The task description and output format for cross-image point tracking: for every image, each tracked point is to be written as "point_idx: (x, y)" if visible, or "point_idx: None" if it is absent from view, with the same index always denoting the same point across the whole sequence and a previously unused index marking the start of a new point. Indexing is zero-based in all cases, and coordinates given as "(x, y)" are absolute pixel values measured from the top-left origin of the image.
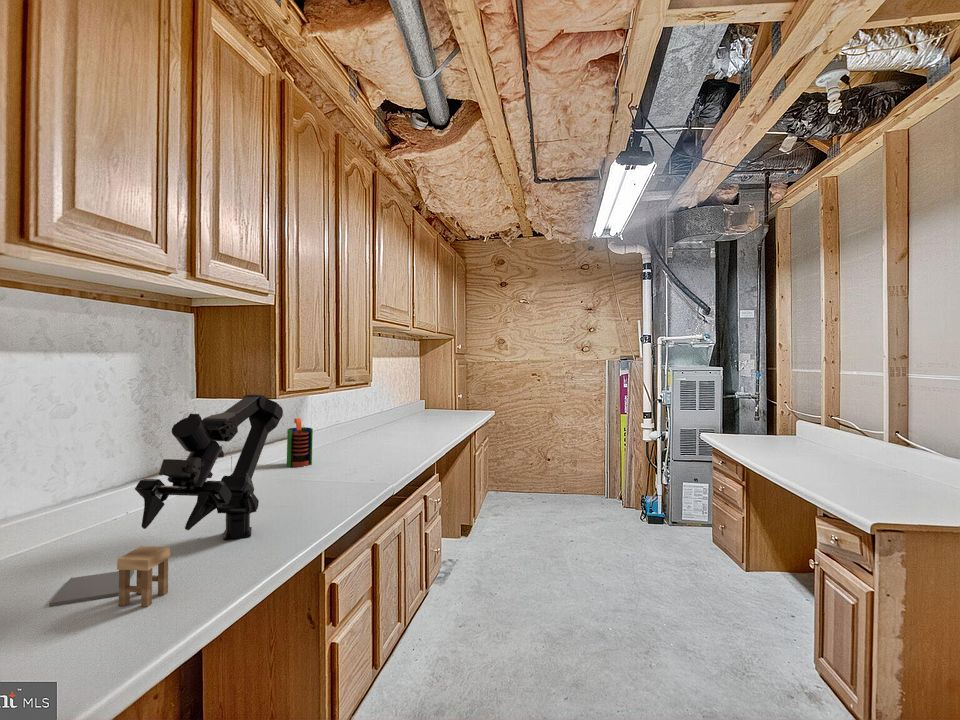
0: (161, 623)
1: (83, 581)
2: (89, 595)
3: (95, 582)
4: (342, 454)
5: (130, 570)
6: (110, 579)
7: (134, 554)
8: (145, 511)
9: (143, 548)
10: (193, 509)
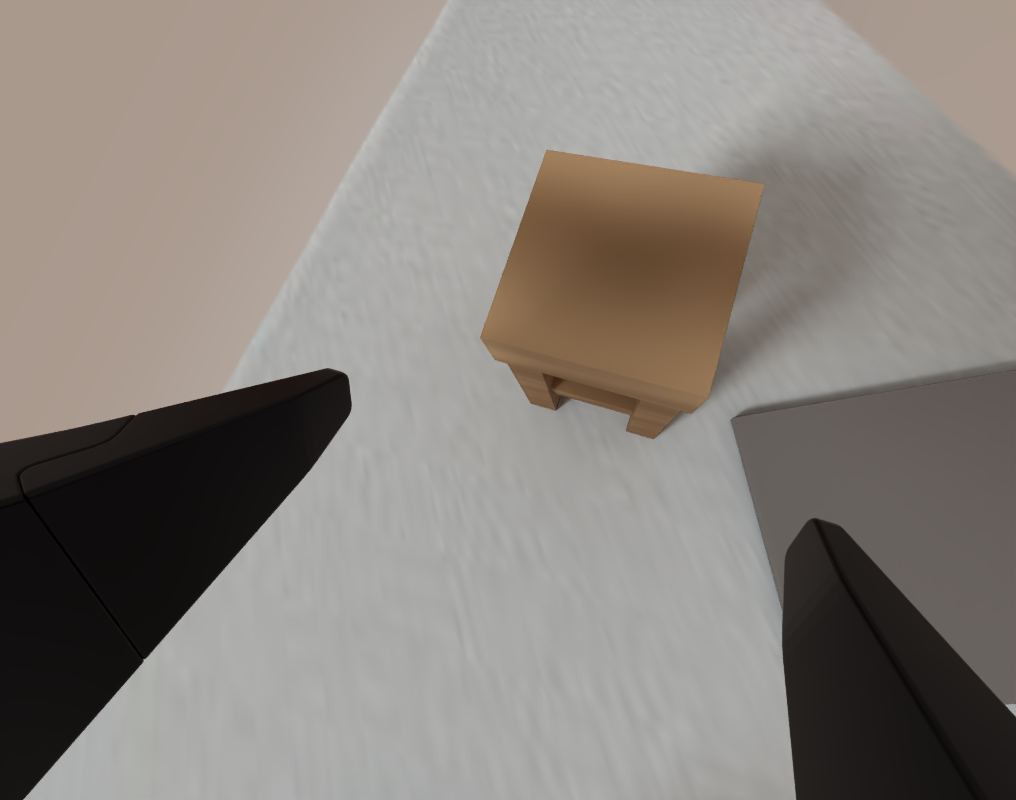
0: (477, 182)
1: None
2: (875, 411)
3: (950, 569)
4: None
5: None
6: None
7: (678, 243)
8: (986, 715)
9: (667, 348)
10: (144, 447)
